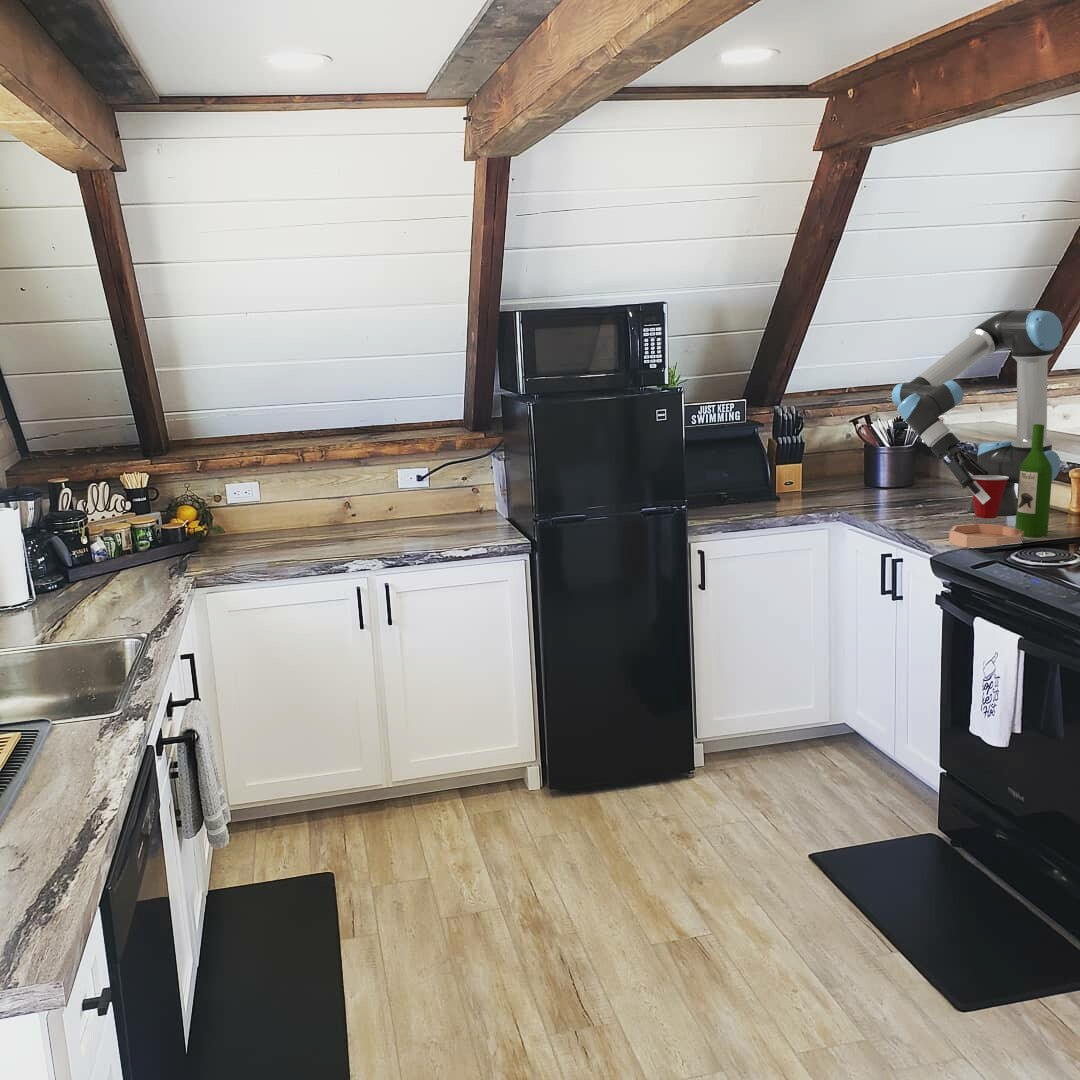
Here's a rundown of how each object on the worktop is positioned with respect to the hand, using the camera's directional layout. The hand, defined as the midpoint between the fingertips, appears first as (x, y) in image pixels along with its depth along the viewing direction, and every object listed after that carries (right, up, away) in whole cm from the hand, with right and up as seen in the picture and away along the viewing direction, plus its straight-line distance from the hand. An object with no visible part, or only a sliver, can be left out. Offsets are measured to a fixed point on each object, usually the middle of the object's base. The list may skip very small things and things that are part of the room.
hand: (992, 498), depth 319 cm
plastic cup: (-1, -5, +2) cm, 6 cm away
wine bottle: (+17, -10, +13) cm, 24 cm away
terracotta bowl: (0, -13, +4) cm, 13 cm away
